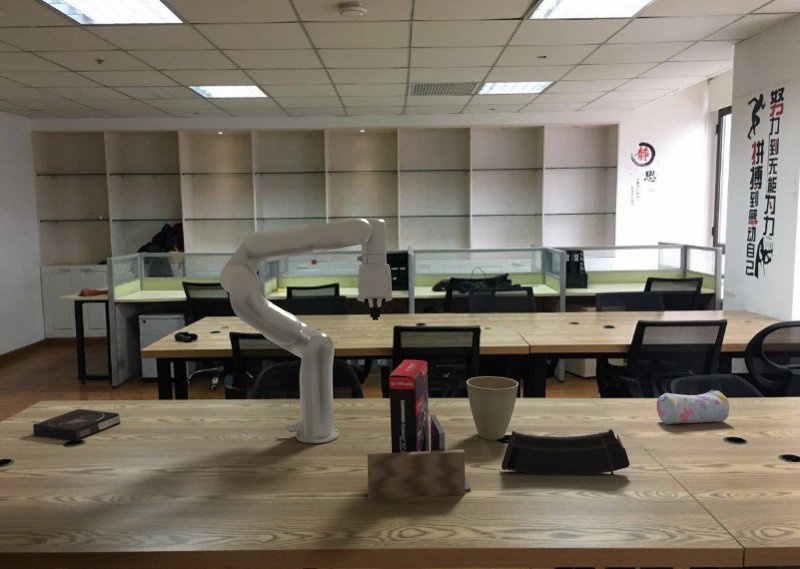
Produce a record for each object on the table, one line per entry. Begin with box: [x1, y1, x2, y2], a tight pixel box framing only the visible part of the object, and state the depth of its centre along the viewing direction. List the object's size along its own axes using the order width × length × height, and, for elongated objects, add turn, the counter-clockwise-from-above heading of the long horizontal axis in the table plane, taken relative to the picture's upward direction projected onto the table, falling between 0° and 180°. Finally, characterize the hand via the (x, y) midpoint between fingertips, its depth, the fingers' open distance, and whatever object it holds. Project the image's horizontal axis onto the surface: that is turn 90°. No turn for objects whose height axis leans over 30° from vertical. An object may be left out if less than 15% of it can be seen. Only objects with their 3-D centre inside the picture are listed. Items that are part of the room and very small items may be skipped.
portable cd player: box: [32, 408, 121, 442], centre depth 184 cm, size 16×17×4 cm
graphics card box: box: [388, 359, 431, 453], centre depth 146 cm, size 17×7×27 cm, turn 168°
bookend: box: [429, 414, 472, 492], centre depth 144 cm, size 7×14×14 cm, turn 6°
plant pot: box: [466, 375, 519, 441], centre depth 174 cm, size 15×15×16 cm
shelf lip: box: [367, 448, 466, 501], centre depth 135 cm, size 22×2×10 cm, turn 96°
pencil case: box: [656, 389, 730, 425], centre depth 185 cm, size 21×9×10 cm, turn 101°
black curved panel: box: [501, 428, 631, 476], centre depth 147 cm, size 17×3×30 cm
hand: (375, 319), depth 183 cm, fingers closed
